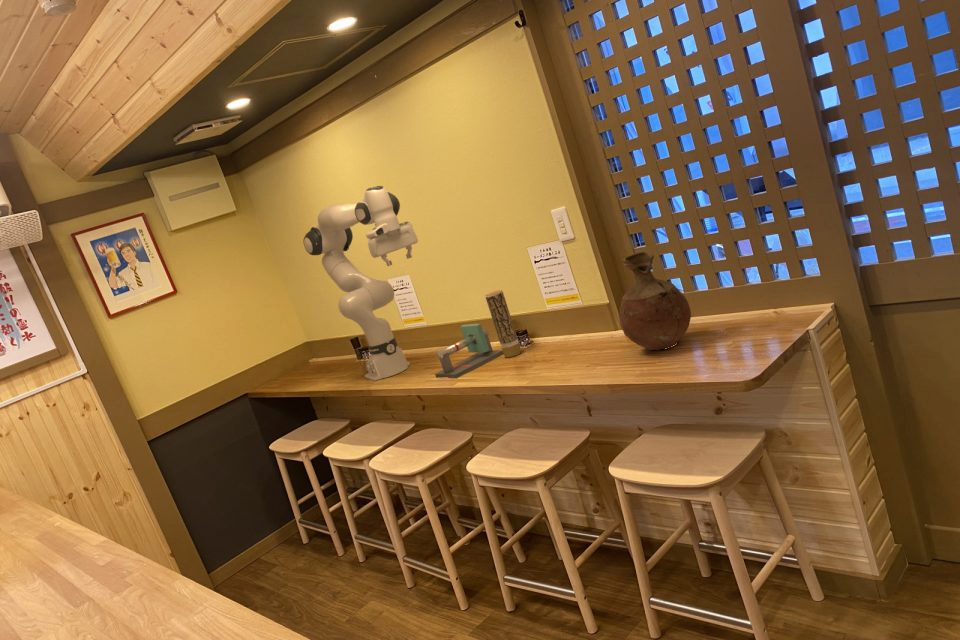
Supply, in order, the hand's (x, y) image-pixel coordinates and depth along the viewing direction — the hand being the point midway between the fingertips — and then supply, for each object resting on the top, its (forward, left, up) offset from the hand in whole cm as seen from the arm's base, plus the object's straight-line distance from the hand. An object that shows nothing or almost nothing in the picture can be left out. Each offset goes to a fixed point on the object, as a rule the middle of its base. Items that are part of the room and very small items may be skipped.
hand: (399, 261), depth 280 cm
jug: (+94, +25, -46) cm, 108 cm away
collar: (+14, +13, -43) cm, 46 cm away
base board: (+14, +7, -46) cm, 48 cm away
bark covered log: (+28, +18, -46) cm, 57 cm away
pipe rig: (+14, +7, -44) cm, 47 cm away
